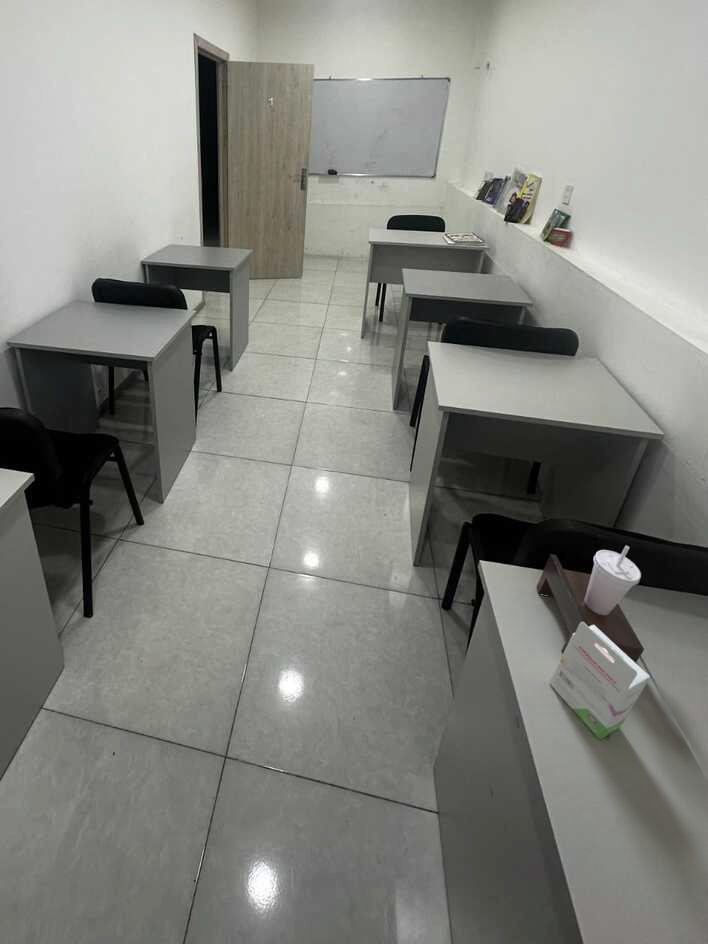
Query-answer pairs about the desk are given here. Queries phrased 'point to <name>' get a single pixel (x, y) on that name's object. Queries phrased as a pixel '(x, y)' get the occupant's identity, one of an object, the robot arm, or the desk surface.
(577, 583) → the shelf
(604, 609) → the smoothie
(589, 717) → the ink box
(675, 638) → the desk surface
